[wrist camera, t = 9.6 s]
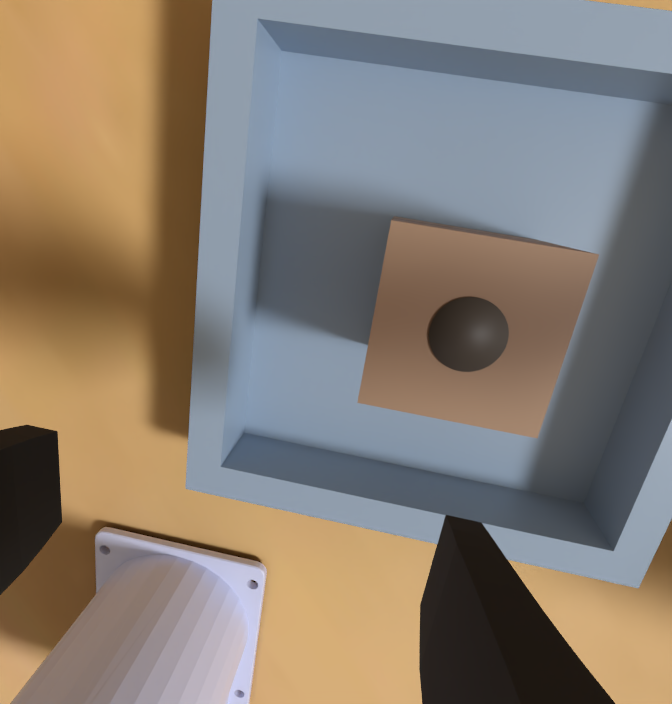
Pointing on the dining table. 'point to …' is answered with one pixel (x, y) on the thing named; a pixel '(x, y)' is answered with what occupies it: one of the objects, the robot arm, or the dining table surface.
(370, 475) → the tray
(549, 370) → the walnut block
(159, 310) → the dining table surface
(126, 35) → the dining table surface
